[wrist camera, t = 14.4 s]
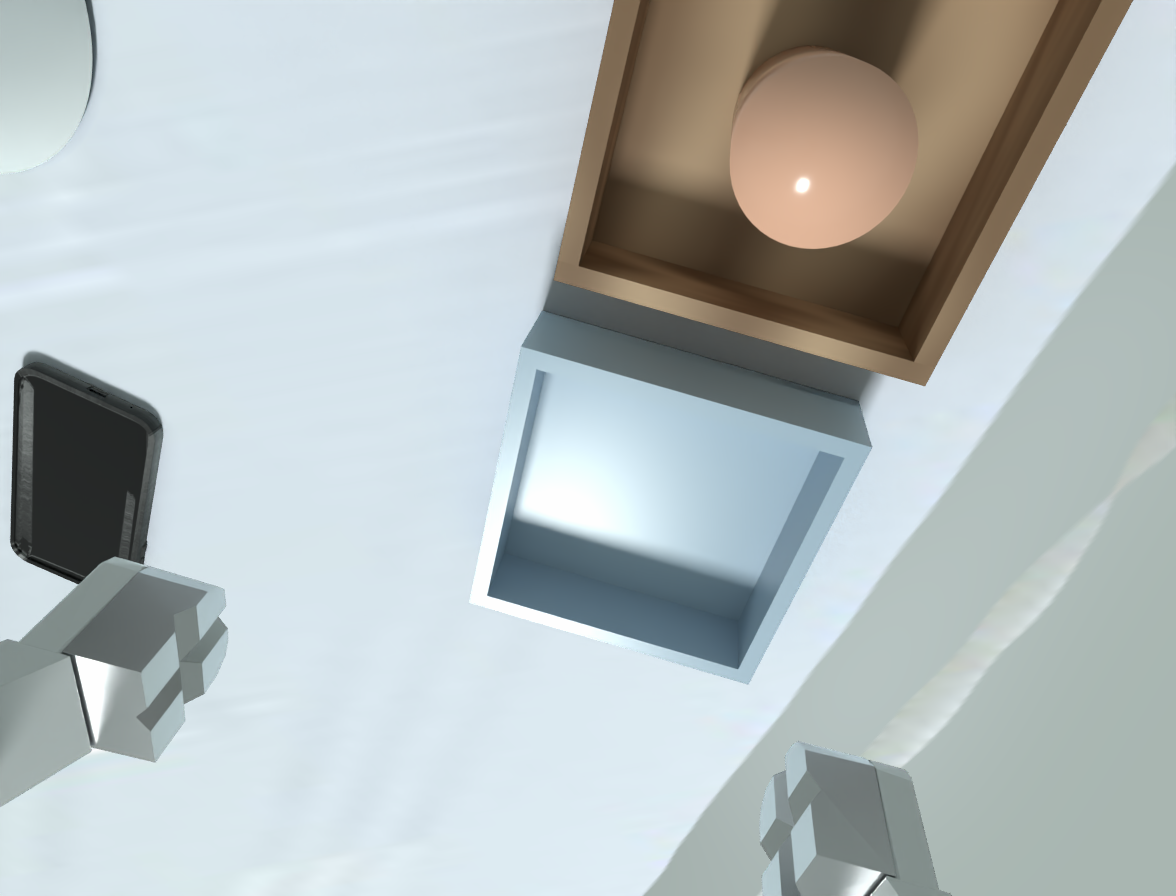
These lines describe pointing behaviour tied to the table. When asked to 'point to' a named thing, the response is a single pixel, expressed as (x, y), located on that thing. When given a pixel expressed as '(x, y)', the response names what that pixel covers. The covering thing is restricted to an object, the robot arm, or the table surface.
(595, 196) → the tray
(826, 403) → the bin
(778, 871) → the robot arm
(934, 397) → the table surface
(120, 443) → the phone
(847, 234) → the orange-tan rounded cylinder
